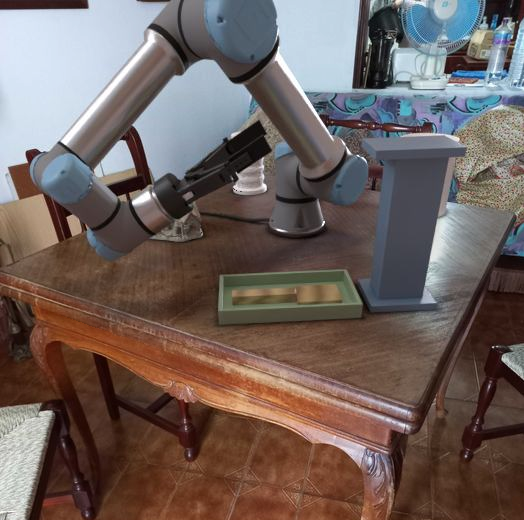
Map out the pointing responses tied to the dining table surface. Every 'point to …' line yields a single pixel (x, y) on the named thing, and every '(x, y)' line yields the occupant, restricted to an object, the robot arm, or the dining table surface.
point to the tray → (291, 310)
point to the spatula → (289, 295)
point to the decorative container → (250, 178)
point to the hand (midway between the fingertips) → (265, 134)
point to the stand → (406, 219)
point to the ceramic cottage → (183, 227)
